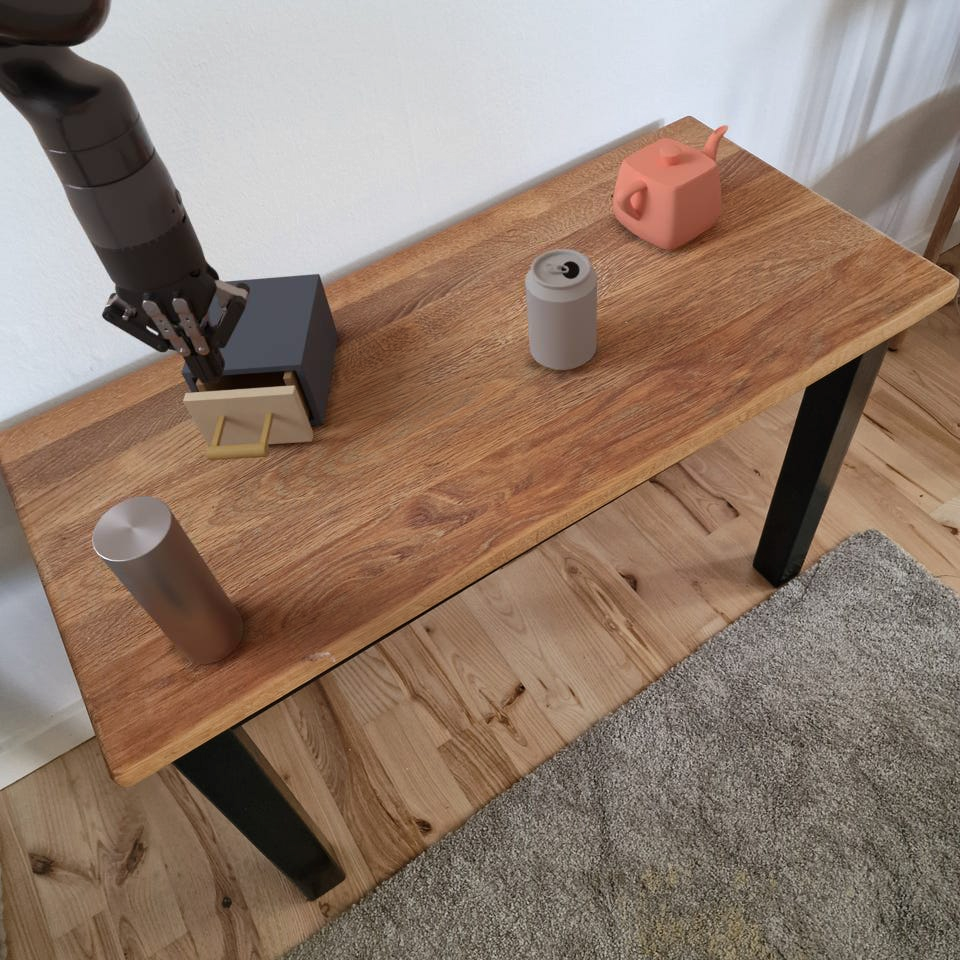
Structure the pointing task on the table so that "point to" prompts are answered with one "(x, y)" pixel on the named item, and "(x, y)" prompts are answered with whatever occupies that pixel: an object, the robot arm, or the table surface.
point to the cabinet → (282, 336)
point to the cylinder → (168, 578)
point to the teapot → (669, 191)
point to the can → (562, 309)
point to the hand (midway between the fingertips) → (213, 376)
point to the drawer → (250, 413)
